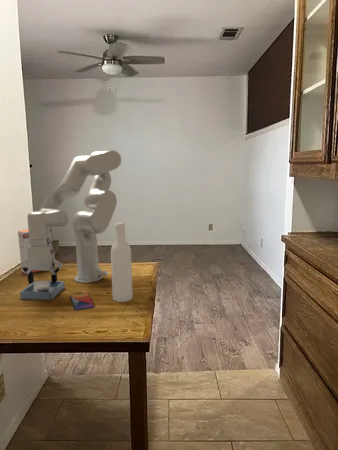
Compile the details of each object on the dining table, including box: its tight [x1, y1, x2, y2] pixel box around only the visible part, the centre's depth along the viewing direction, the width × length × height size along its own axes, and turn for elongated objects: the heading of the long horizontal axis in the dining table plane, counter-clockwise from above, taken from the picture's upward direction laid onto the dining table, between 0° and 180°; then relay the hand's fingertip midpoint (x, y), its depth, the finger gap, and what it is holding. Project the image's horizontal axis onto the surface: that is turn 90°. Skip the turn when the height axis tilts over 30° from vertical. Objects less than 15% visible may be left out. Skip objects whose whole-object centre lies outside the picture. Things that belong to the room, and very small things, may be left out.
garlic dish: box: [19, 280, 66, 301], centre depth 146 cm, size 13×14×3 cm
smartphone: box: [69, 292, 96, 311], centre depth 136 cm, size 7×15×1 cm, turn 22°
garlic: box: [34, 280, 51, 292], centre depth 144 cm, size 8×7×4 cm
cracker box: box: [17, 228, 52, 275], centre depth 176 cm, size 14×6×21 cm, turn 136°
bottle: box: [110, 221, 134, 303], centre depth 137 cm, size 8×8×30 cm
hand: (42, 283), depth 145 cm, fingers open, 9 cm apart
